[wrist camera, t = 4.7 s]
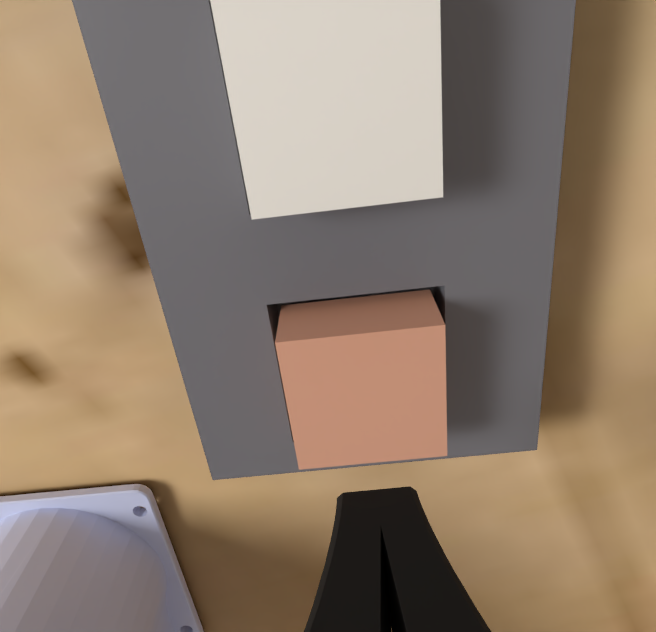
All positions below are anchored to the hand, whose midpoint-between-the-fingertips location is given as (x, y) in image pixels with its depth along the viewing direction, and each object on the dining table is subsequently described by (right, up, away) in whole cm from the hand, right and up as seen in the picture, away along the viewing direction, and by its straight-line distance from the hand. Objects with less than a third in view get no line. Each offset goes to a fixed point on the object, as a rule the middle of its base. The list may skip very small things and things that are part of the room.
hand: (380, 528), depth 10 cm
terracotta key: (0, +3, +5) cm, 6 cm away
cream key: (-1, +9, +2) cm, 9 cm away
